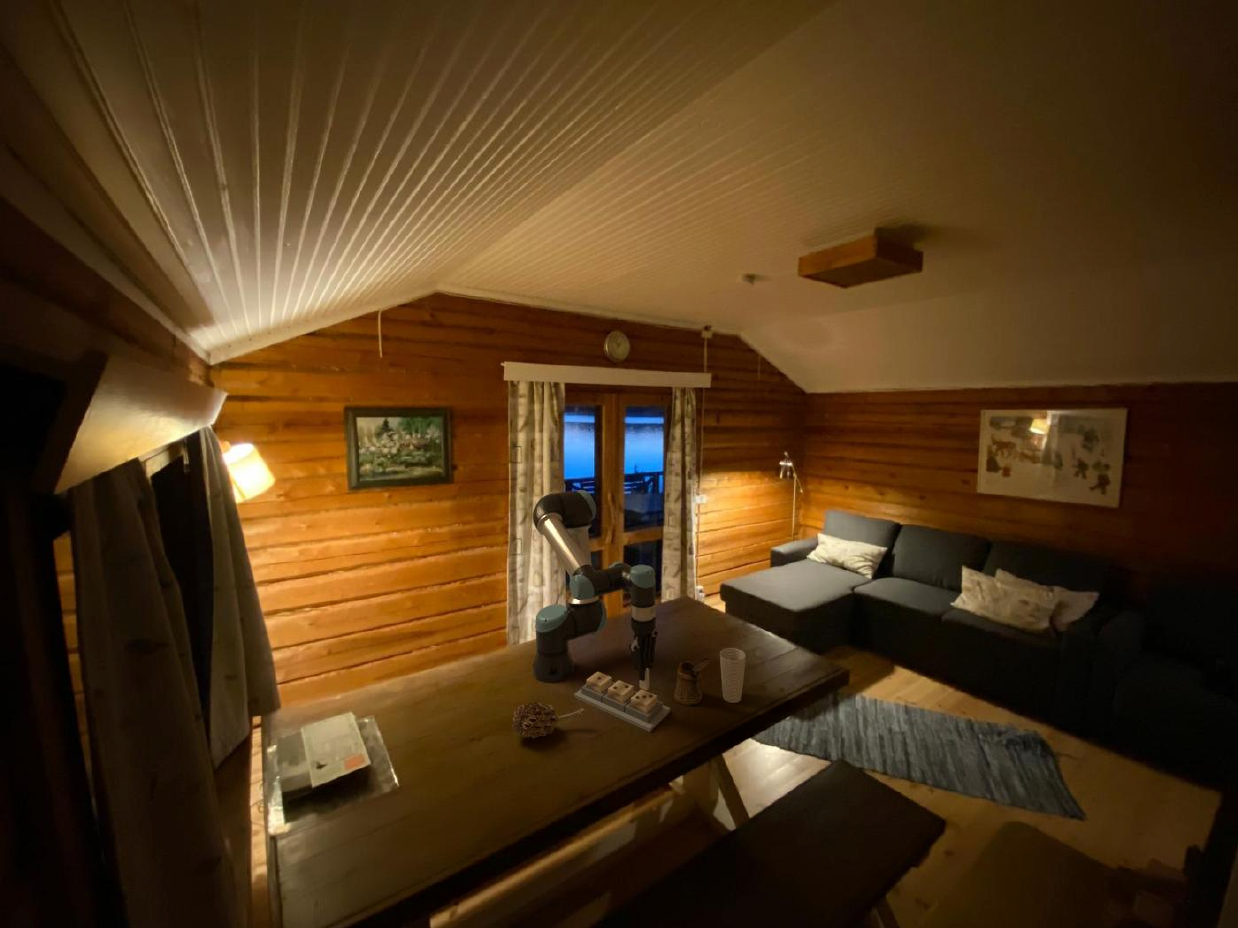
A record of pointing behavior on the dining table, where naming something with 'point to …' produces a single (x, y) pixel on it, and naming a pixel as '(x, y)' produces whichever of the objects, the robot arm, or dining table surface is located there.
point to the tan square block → (599, 682)
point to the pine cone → (538, 719)
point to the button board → (623, 708)
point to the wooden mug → (689, 682)
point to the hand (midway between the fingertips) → (644, 687)
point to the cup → (732, 673)
